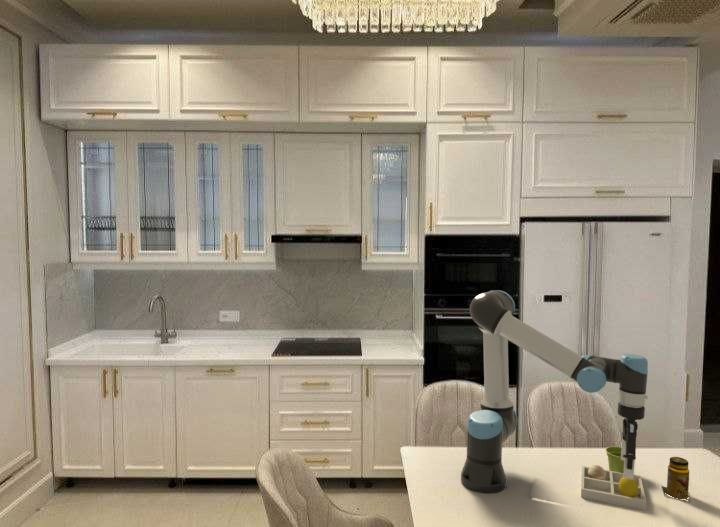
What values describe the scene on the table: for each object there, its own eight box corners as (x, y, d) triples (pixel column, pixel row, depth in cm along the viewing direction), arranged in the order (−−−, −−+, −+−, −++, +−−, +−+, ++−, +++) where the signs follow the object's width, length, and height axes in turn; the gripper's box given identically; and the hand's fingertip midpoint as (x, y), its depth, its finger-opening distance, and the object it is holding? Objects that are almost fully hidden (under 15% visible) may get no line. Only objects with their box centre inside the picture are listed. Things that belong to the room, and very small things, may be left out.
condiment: (689, 502, 166) (691, 466, 165) (659, 495, 170) (661, 460, 170) (688, 492, 172) (690, 457, 172) (659, 486, 177) (660, 452, 176)
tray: (580, 499, 167) (581, 488, 167) (581, 475, 184) (581, 465, 184) (645, 512, 160) (646, 501, 159) (640, 486, 176) (640, 476, 176)
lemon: (640, 505, 162) (641, 480, 162) (621, 503, 163) (622, 478, 163) (634, 496, 168) (635, 472, 167) (615, 494, 169) (617, 470, 168)
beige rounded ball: (587, 483, 176) (588, 467, 176) (587, 476, 181) (588, 461, 181) (606, 487, 174) (606, 470, 173) (605, 480, 179) (606, 464, 179)
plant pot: (640, 480, 180) (641, 456, 180) (615, 482, 179) (616, 458, 178) (622, 468, 190) (623, 445, 189) (598, 470, 188) (599, 447, 188)
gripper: (649, 418, 151) (643, 489, 153) (641, 394, 174) (636, 456, 175) (620, 414, 154) (615, 483, 156) (616, 391, 177) (612, 451, 178)
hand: (626, 469), depth 166 cm, fingers open, 13 cm apart
